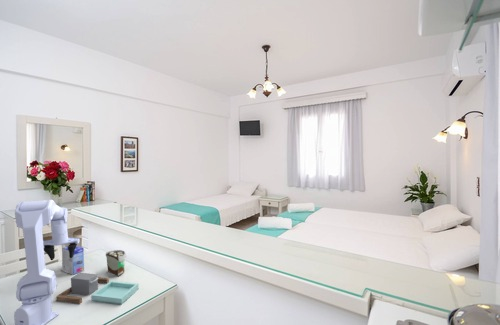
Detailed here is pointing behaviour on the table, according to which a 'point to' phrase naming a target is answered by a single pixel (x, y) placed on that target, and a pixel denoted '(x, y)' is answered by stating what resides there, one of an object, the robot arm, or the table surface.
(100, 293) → the tray
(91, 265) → the table surface
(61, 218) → the robot arm
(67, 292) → the frame
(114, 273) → the food container
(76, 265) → the ink cartridge box
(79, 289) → the gray box with handle
